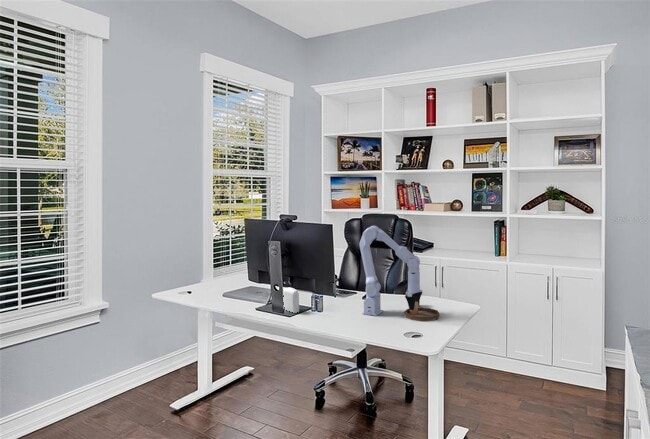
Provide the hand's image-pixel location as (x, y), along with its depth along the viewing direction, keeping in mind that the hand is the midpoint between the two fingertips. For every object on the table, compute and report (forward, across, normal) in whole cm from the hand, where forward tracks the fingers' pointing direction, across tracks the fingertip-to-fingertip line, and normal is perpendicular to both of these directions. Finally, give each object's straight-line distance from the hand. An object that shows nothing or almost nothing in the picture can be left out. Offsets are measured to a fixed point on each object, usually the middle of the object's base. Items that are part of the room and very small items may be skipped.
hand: (413, 307), depth 229 cm
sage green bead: (+4, +16, +4) cm, 17 cm away
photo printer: (+4, -19, +60) cm, 63 cm away
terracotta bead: (+3, 0, 0) cm, 3 cm away
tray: (+4, 0, -4) cm, 5 cm away
